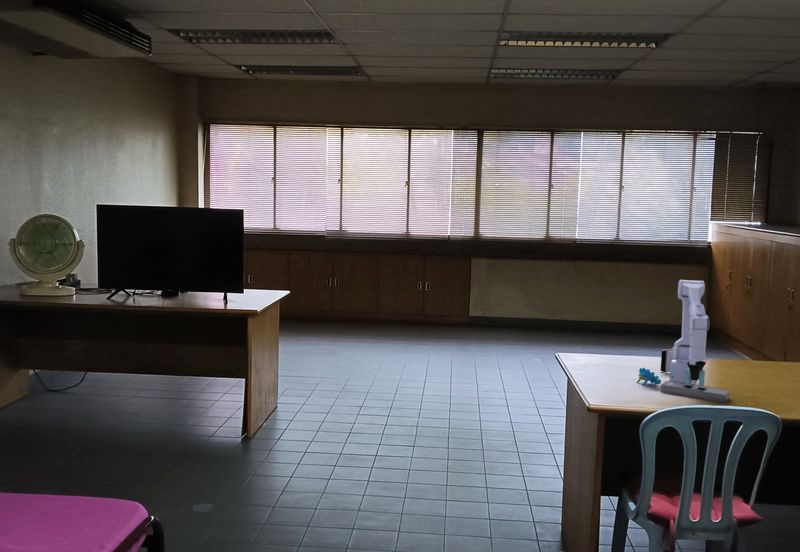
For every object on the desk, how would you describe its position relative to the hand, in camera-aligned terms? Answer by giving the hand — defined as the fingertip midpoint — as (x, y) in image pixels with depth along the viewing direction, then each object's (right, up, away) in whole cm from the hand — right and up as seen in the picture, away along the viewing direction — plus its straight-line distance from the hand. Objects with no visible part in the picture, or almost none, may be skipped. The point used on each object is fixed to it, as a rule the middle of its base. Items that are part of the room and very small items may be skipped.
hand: (695, 379), depth 272 cm
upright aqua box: (0, -2, 0) cm, 2 cm away
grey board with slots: (0, -6, +1) cm, 6 cm away
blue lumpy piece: (-13, -5, +16) cm, 21 cm away
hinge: (+7, -3, +44) cm, 44 cm away
